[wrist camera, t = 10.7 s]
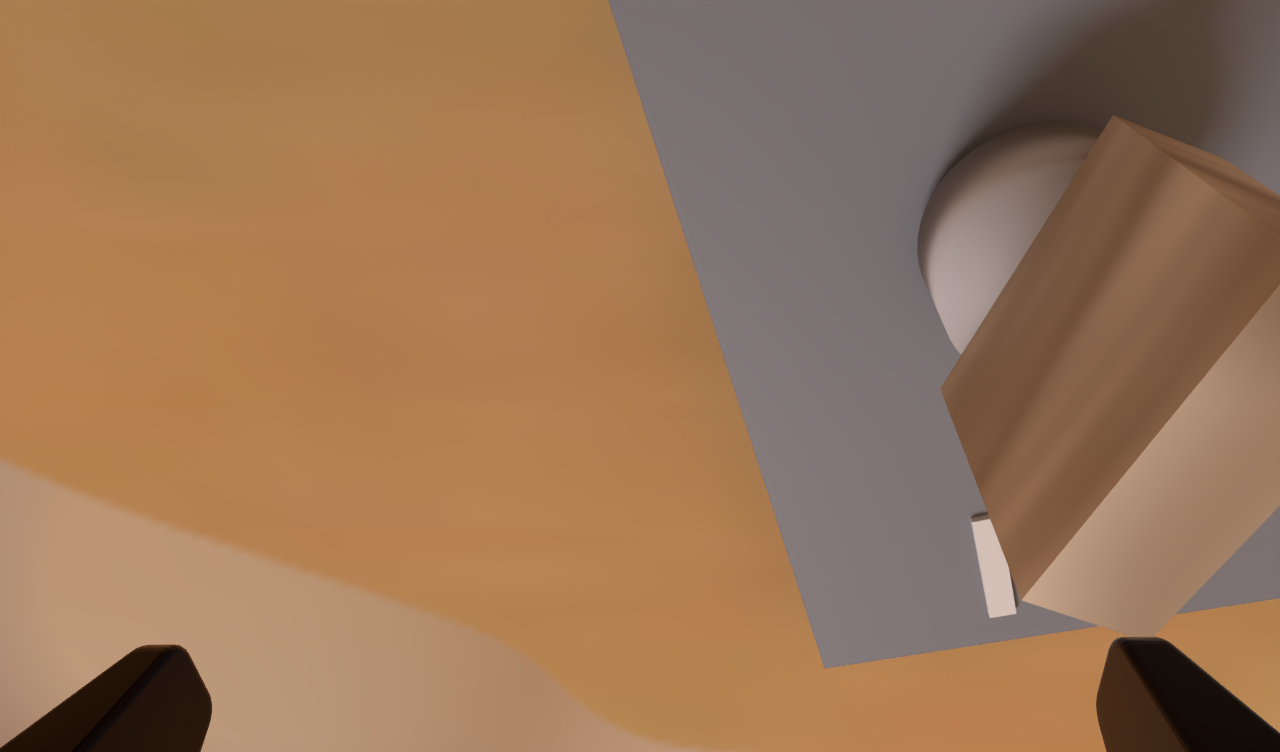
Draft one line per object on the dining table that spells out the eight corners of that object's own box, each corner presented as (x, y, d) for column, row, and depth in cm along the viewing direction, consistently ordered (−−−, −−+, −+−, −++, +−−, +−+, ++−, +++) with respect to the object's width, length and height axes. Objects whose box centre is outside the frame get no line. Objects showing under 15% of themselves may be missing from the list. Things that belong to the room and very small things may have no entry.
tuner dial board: (607, -46, 16) (596, -34, 14) (2002, -547, 11) (2180, -600, 10) (819, 623, 24) (825, 673, 22) (1688, 478, 19) (1763, 529, 18)
